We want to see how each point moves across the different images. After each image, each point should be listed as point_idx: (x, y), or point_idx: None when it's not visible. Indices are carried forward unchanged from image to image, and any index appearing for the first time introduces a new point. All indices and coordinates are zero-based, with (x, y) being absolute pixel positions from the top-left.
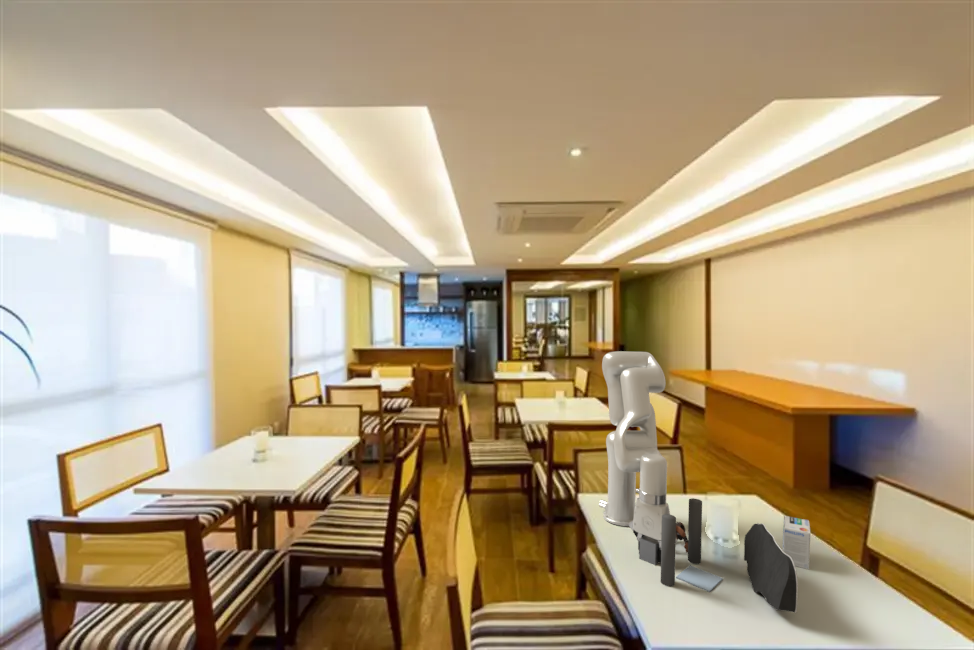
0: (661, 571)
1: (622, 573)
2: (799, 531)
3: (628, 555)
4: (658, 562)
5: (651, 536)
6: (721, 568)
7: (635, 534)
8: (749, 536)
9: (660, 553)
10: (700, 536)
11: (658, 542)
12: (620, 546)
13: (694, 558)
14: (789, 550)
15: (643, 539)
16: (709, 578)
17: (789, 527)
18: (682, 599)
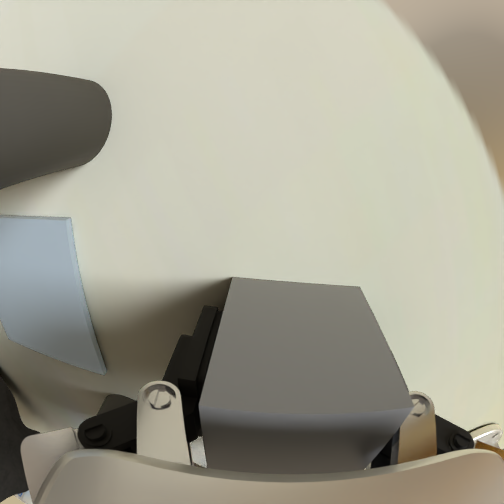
0: (46, 75)
1: (364, 3)
2: None
3: (428, 273)
4: (217, 308)
5: (243, 496)
6: (59, 398)
7: (448, 427)
8: (3, 479)
9: (189, 360)
10: None
11: (185, 442)
12: (472, 330)
13: (104, 412)
14: None
15: (372, 420)
16: (13, 310)
17: (21, 500)
18: (4, 62)
